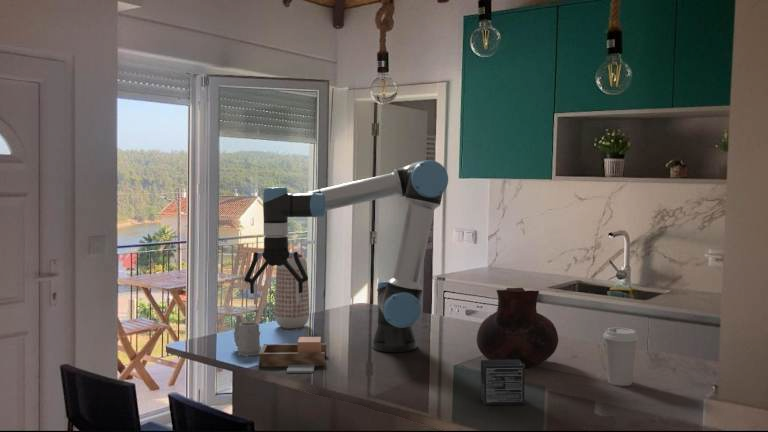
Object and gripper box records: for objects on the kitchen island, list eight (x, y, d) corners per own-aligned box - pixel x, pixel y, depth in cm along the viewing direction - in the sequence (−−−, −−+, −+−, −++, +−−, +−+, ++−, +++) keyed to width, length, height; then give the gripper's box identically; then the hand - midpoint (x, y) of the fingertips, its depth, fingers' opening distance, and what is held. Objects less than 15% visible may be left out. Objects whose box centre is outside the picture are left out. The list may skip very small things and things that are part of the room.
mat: (314, 366, 215) (314, 364, 215) (313, 372, 208) (313, 370, 208) (288, 366, 214) (288, 364, 214) (286, 373, 207) (286, 371, 207)
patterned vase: (272, 324, 274) (271, 253, 273) (305, 322, 278) (305, 252, 277) (277, 331, 262) (277, 257, 260) (312, 329, 266) (312, 256, 264)
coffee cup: (609, 375, 205) (610, 325, 204) (642, 381, 199) (643, 330, 198) (596, 383, 198) (597, 331, 197) (630, 389, 192) (631, 336, 191)
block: (321, 358, 225) (321, 336, 224) (320, 364, 218) (320, 342, 217) (299, 358, 224) (299, 336, 224) (297, 364, 217) (297, 342, 217)
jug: (558, 357, 226) (560, 280, 224) (556, 378, 202) (557, 293, 200) (482, 351, 233) (482, 277, 231) (470, 372, 208) (471, 289, 207)
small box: (519, 397, 185) (519, 358, 185) (525, 405, 179) (525, 365, 178) (480, 397, 185) (480, 358, 184) (484, 405, 178) (484, 365, 178)
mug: (246, 357, 225) (246, 321, 224) (225, 351, 233) (225, 316, 232) (265, 353, 230) (265, 317, 230) (244, 347, 238) (244, 312, 238)
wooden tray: (326, 355, 227) (326, 343, 227) (324, 365, 215) (324, 353, 215) (264, 356, 227) (264, 344, 226) (258, 366, 214) (258, 353, 214)
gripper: (315, 234, 223) (316, 300, 224) (238, 235, 222) (239, 301, 223) (314, 236, 215) (315, 305, 216) (234, 237, 214) (235, 306, 215)
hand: (276, 303), depth 220 cm, fingers open, 12 cm apart
